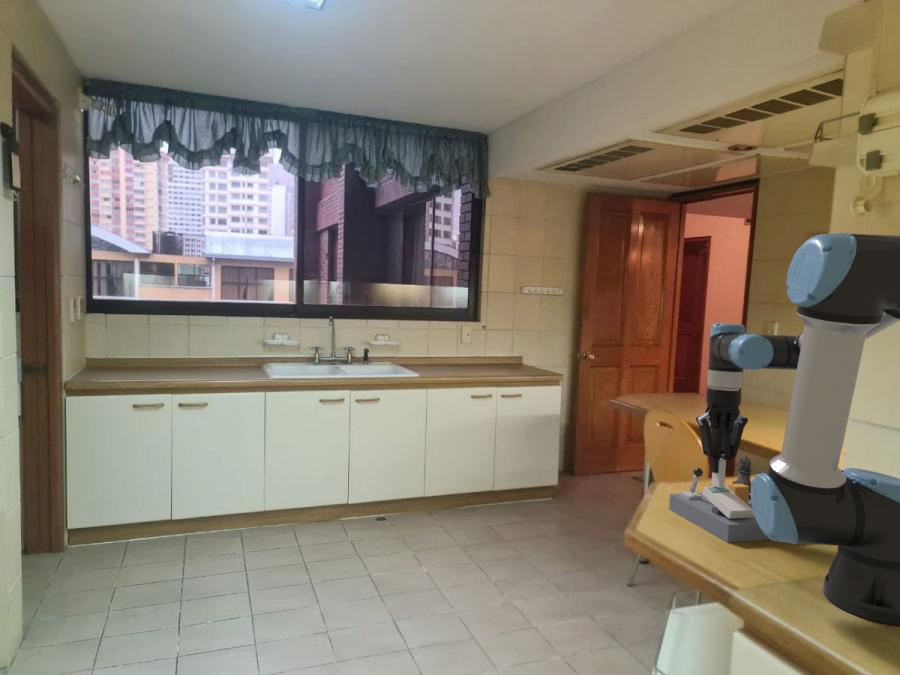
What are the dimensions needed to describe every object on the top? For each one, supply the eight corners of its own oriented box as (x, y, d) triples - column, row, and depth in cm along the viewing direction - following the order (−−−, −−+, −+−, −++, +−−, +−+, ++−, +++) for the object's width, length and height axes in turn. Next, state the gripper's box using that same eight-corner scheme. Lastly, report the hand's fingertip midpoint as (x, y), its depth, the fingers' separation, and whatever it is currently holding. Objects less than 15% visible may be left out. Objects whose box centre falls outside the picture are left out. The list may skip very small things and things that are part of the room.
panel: (795, 538, 137) (796, 514, 137) (727, 542, 133) (729, 518, 133) (728, 506, 159) (730, 485, 158) (668, 508, 155) (669, 487, 154)
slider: (748, 502, 148) (749, 486, 148) (734, 503, 147) (735, 487, 147) (741, 499, 150) (742, 483, 150) (727, 500, 149) (728, 484, 149)
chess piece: (758, 500, 165) (761, 457, 164) (737, 499, 165) (740, 456, 164) (748, 493, 171) (751, 452, 170) (727, 493, 171) (730, 451, 170)
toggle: (697, 495, 151) (705, 471, 148) (690, 495, 151) (698, 471, 148) (692, 489, 153) (700, 465, 150) (685, 490, 153) (693, 466, 150)
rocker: (751, 517, 137) (754, 509, 136) (728, 518, 136) (731, 510, 135) (723, 493, 146) (725, 485, 146) (702, 494, 145) (704, 486, 144)
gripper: (736, 386, 148) (730, 480, 149) (690, 385, 145) (684, 482, 146) (758, 390, 141) (752, 489, 142) (710, 390, 137) (704, 491, 139)
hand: (717, 485), depth 144 cm, fingers closed
